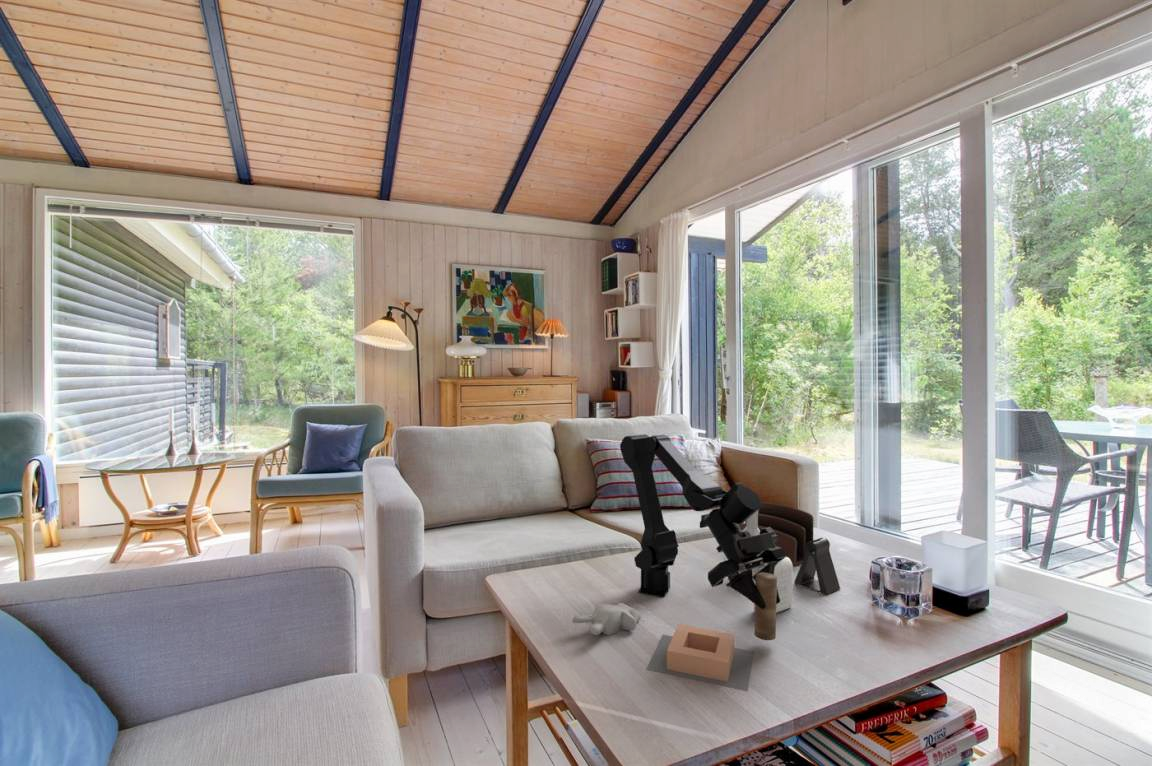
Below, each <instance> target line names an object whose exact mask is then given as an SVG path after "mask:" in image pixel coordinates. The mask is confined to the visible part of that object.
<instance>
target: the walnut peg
mask: <svg viewBox="0 0 1152 766" xmlns="http://www.w3.org/2000/svg"><path fill="white" fill-rule="evenodd" d="M756 587H757V589H758V591H759V593H760V594H761V596H762V598H763V600H764V602H765V604H766V608H764V609H761V608H760V607H758V606H757V605H756V604H755V610H754V630H753V631H754V636H755V637H756V638H758V639H759V640H763V641H774V640H775V639H776V636H777V635H776V632H777V631H776V629H777V627H776V626H777V613H776V596H777V577H776V576H775V575H773V574H770V573H757V574H756Z"/></svg>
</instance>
